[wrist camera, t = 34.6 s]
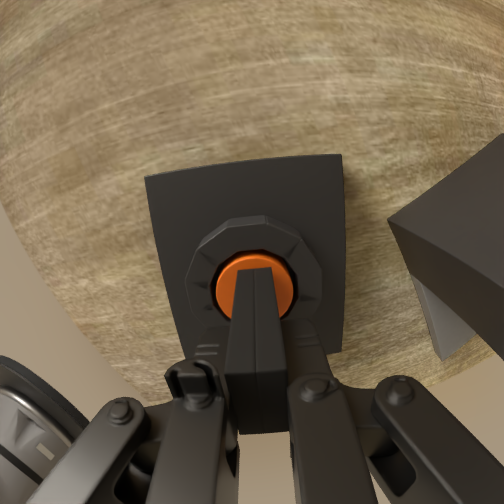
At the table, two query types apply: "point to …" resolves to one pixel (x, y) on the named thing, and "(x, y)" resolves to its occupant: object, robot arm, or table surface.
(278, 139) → the table surface
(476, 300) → the coffee maker
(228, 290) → the button
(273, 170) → the control pad
